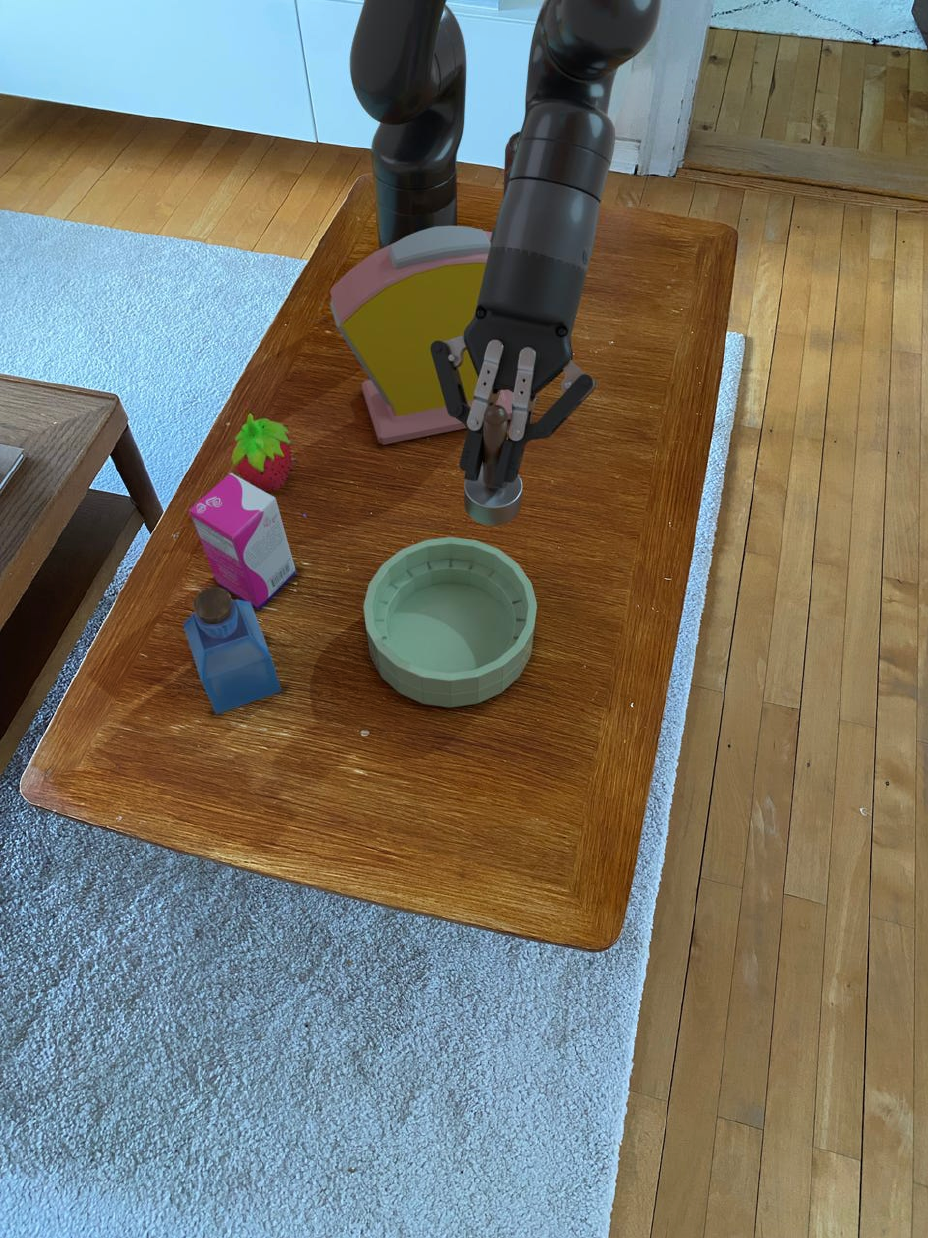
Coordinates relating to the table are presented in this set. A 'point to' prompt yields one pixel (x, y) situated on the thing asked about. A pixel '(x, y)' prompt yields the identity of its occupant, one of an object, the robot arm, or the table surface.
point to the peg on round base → (492, 477)
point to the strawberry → (262, 453)
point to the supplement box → (244, 540)
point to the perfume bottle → (229, 650)
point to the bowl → (450, 621)
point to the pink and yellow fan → (413, 325)
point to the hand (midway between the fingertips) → (485, 482)
